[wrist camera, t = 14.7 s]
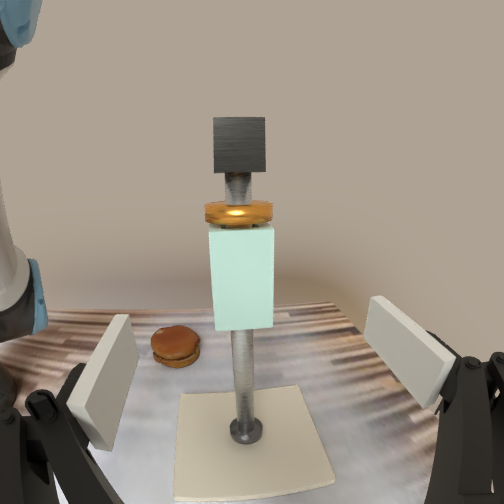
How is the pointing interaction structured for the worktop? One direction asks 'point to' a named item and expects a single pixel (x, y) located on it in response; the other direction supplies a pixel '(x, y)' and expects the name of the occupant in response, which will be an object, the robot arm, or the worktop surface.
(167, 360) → the burger
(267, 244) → the teal sleeve
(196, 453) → the cream stand base
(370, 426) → the worktop surface
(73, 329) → the worktop surface
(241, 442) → the metal rod
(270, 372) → the worktop surface
